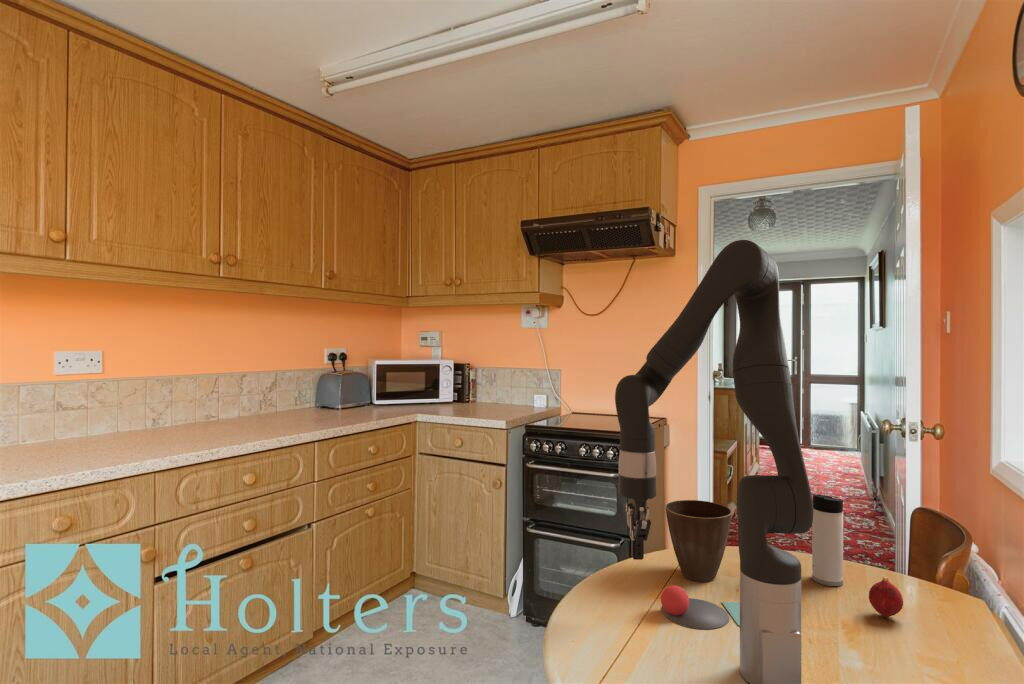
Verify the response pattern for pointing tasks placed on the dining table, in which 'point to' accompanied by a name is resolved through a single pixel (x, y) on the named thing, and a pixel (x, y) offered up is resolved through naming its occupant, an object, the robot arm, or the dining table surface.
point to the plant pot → (698, 536)
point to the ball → (675, 600)
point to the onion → (885, 598)
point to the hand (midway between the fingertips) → (637, 558)
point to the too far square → (733, 610)
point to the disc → (700, 615)
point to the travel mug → (827, 540)
